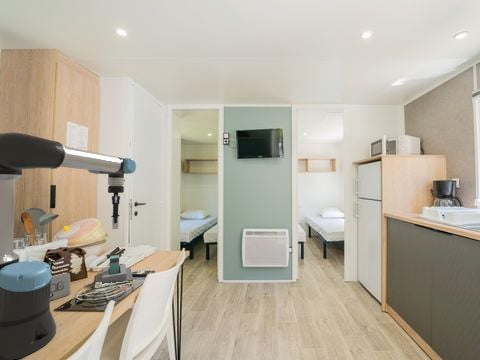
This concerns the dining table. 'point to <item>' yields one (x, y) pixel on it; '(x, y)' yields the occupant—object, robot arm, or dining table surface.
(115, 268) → the plug
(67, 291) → the electrical switch
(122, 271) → the socket
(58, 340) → the dining table surface
